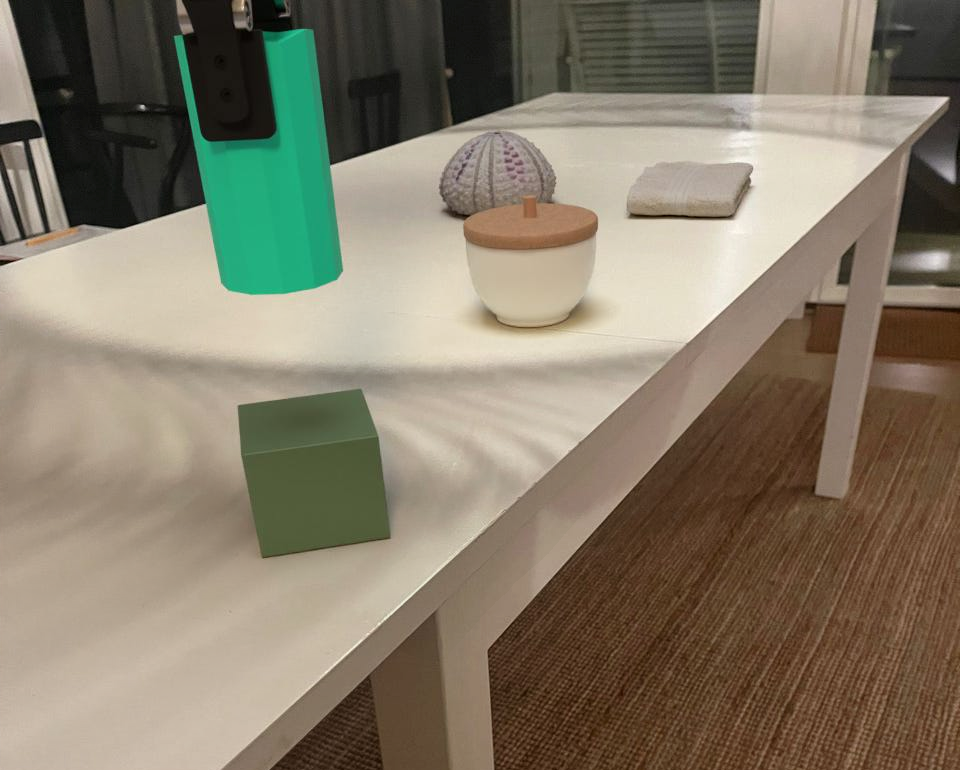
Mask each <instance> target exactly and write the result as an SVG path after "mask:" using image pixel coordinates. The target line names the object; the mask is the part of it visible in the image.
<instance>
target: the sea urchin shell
mask: <svg viewBox="0 0 960 770" xmlns="http://www.w3.org/2000/svg"><path fill="white" fill-rule="evenodd" d="M438 180H439V184H438V189H439V193H438V194H439V195H440V196H441V198H442V202H443V203H445V205H447V207H448V208H450V209H451V211H452V212H457V213H458V215H465V216H468V217H470V216H472V215H474V214H476V213H478V212H481V211H485V210H488V209H492V208H497V207H503V206H510V205H519V204H523V197H524V196H528V195H534V196H536V203H548V202H550V200H552V199H553V195H554V194H555V188H556V187H557V182H556V180H557V176H556V173H555V170H554V169H553V165H552V164H551V163H550V162H549V160H548V159H547V157H546V156H545V155H544V154H543V153H542V151H541V149H540V148H538V147H537V146H536V145H535V143H534V141H532V142H531V141H530V140H528V139H527V137H524V136H521V135H519V134H517V133H515V132H512V131H507V130H506V131H504V130H494V131H487V132H484V133H483V134H479V135H477V136H475V137H473V138H472V137H471V139H469V140H468V141H466V142H464V143H463V145H461V146H460V147H459V148H458V149H457V150H456V151H455V153H454V154H453V155H452V156H451V158H450V159H448V162H447V163H446V165H445V166H444V169H443V171H442V172H441V176H440V178H438Z"/></svg>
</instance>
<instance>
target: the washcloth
mask: <svg viewBox="0 0 960 770" xmlns="http://www.w3.org/2000/svg"><path fill="white" fill-rule="evenodd" d="M753 171H754V165H753V164H751V163H749V162H743V161H742V162H727V163H726V162H725V163H703V162H697V161H689V160H683V161H675V162H666V161H662V162H657V163H656V164H655V165H654V166H649V167H645V168H644V170H643V172H642V174H641V175H640V176H638V177H637V178H636V179H635V182H634V183H633V184H632V185H631V186H630V187H629V189H628V194H627V196H626V197H627V198H626V212H627V213H631V215H643V216H663V215H665V216H669V215H670V216H688V217H699V218H700V217H702V218H704V217H711V218H712V217H713V218H715V217H721V218H722V217H730V216H732V215H733V214H734V213H735V212H736V209H738V205H739V204H740V202H741V201H742V199H743V196H744V195H745V193H746V191H747V190H748V188H749V187H750V185H751V184H752V178H751V175H752V173H753Z"/></svg>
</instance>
